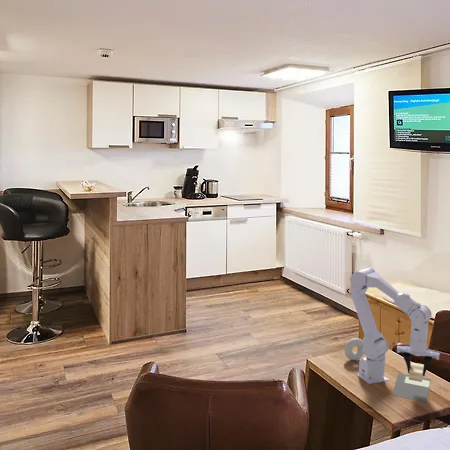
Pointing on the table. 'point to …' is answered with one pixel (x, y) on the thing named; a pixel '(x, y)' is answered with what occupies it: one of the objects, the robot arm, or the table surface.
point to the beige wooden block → (416, 372)
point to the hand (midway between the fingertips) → (416, 373)
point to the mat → (411, 388)
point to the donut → (349, 347)
